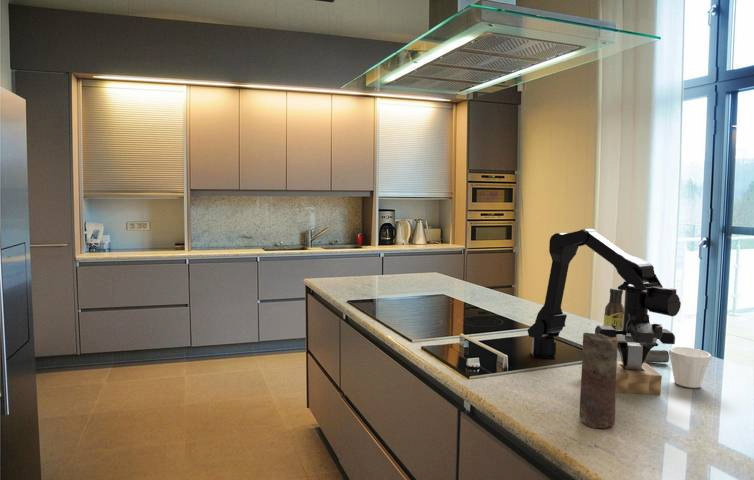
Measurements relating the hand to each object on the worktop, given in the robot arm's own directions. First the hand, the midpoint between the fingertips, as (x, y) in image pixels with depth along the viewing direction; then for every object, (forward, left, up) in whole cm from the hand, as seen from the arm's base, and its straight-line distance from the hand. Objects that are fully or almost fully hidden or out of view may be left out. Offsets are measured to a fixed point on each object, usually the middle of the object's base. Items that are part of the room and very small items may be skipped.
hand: (631, 366), depth 145 cm
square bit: (0, 0, -2) cm, 2 cm away
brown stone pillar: (-16, -27, -6) cm, 32 cm away
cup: (+16, +4, -6) cm, 17 cm away
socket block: (0, 0, -6) cm, 6 cm away
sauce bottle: (+7, +41, -6) cm, 42 cm away
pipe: (+12, +24, -6) cm, 27 cm away
